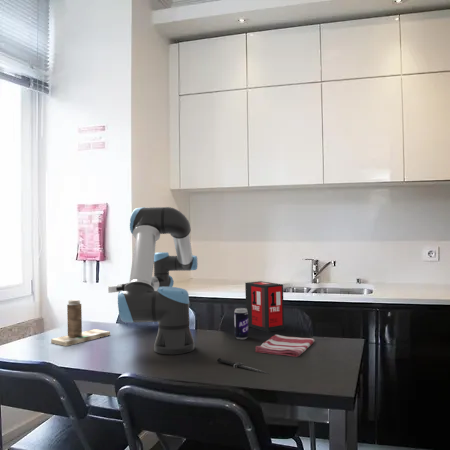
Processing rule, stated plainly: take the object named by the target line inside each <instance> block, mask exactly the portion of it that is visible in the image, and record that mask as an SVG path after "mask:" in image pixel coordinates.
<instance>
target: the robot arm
mask: <svg viewBox="0 0 450 450" xmlns="http://www.w3.org/2000/svg"><path fill="white" fill-rule="evenodd" d="M191 228H192V227H191V224H190V222H189V219H188V218H187V217H186V215H185V214H183V213H182V211H180V210H178V209H176V208H173V207H170V206H165V207H161V206H160V207H154V206H153V207H143V206H142V207H136V208H134V209H133V211H132V213H131V214H130V220H129V231H130V234H132V236H133V238H134V239H135V240H134V248H133V255H132V262H131V267H130V276H129V282H126V283H122V284H117V285H110V286H108V293H109V294H112V293H118V294H117V308H118V314H119V317H120V320H121V321H122V322H124V323H132V324H135V323H158V330H157V335H156V337H155V341H154V345H153V347H154V348H153V350H154V352H155V353H157V354H160V355H182V354H187V353H190V352H193V351H194V350H195V340H194V337H193V334H192V332H191V329H190V296H189V295H190V294H189V291H188V290H187V289H185V288H181V287H177V286H176V287H175V286H174V284H175V282H174V279H173V278H174V277H173V276H171V275H170V271H171V272H172V271H174V272H175V271H179V272H180V271H182V272H183V271H186V272H187V271H189V272H190V271H197V269H198V265H199V264H198V256H197V255H193V250H192V245H191V244H192V243H191V237H190V233H191ZM167 234H170V236H171V237H172V239H173V243H174V248H175V253H176V255H169V252H167V251H165V252H161V251H160V252H156V246H157V245H156V243H157V241H158V240H160V238H161V235H167Z"/></svg>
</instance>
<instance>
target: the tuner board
mask: <svg viewBox="0 0 450 450" xmlns="http://www.w3.org/2000/svg"><path fill="white" fill-rule="evenodd" d="M108 335H109V336H111V331H107V330H103V329H96V328H95V329H91V330H90V329H89V330H85V331H82V336H83V337H74V338H73V337H68V334H67V335H63V336H59V337H54V338H51V340H50V341H51V342H50V343H51V344H55V345H60V346H64V347H68V346H72V345H76V344H80V343H83V342H89V341H93V340H96V339H97V340H98V339H100V337H101V338H104V336H105V337H107V336H108Z"/></svg>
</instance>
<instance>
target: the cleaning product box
mask: <svg viewBox="0 0 450 450" xmlns="http://www.w3.org/2000/svg"><path fill="white" fill-rule="evenodd" d="M244 283H245V291H244V292H245V308H246V309H247V311H248V325H249V326H248V328H249V327H250V328H252V329H257V330H260V331H264V332H266V333H267V332H268V333H270V332H274V331H275V332H276V331H282V330H285V321H284V320H285V317H284V312H285V311H284V310H285V309H284V283H283V284H282V283H276V282H269V281H262V280H259V281H251V282H250V281H249V282H244Z"/></svg>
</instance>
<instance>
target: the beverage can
mask: <svg viewBox="0 0 450 450" xmlns="http://www.w3.org/2000/svg"><path fill="white" fill-rule="evenodd" d="M233 313H234V314H233V315H234V316H233V318H234V319H233V321H234V322H233V323H234V324H233V325H234V338H236V339H237V340H246V339H247V338H248V337H249V326H248V311H247V309H246V307H245V308H244V307H237V308H235V309H234V312H233Z"/></svg>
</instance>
